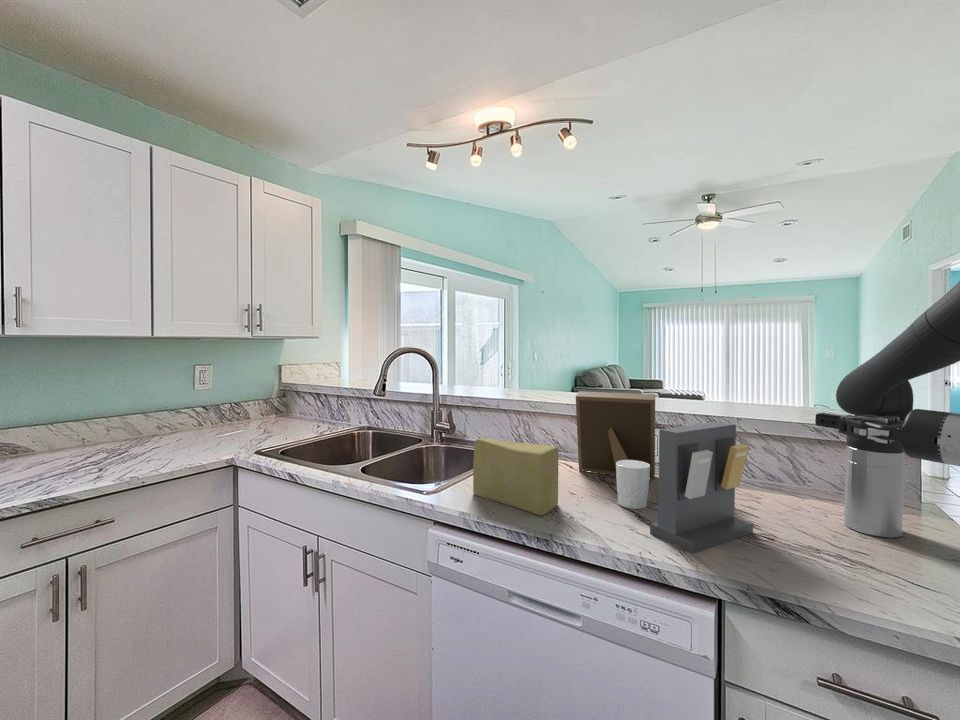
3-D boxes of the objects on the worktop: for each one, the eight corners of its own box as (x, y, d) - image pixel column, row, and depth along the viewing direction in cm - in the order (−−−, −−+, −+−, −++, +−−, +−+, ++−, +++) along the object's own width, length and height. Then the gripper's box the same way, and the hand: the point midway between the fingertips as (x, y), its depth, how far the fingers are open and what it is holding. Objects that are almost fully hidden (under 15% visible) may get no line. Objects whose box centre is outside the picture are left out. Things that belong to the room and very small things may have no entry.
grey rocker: (699, 492, 89) (707, 449, 88) (705, 495, 88) (713, 452, 86) (684, 496, 87) (692, 452, 85) (690, 499, 86) (698, 455, 84)
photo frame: (581, 467, 143) (582, 389, 142) (655, 475, 134) (656, 392, 133) (571, 481, 129) (572, 394, 128) (652, 491, 120) (653, 398, 119)
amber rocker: (733, 483, 95) (743, 444, 93) (739, 486, 94) (749, 446, 92) (720, 486, 93) (730, 446, 91) (726, 489, 92) (736, 448, 90)
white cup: (609, 504, 110) (610, 464, 110) (624, 496, 116) (624, 458, 115) (641, 512, 105) (641, 470, 104) (654, 504, 110) (655, 463, 110)
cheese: (463, 499, 114) (462, 440, 114) (484, 489, 122) (484, 434, 122) (541, 518, 102) (541, 452, 101) (559, 505, 110) (560, 444, 109)
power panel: (708, 516, 102) (710, 420, 101) (752, 532, 93) (755, 427, 93) (650, 533, 93) (651, 427, 92) (693, 553, 84) (694, 436, 83)
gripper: (971, 409, 68) (837, 395, 83) (936, 417, 62) (798, 400, 77) (968, 458, 68) (835, 435, 84) (933, 471, 62) (796, 444, 77)
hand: (817, 418), depth 80 cm, fingers closed
